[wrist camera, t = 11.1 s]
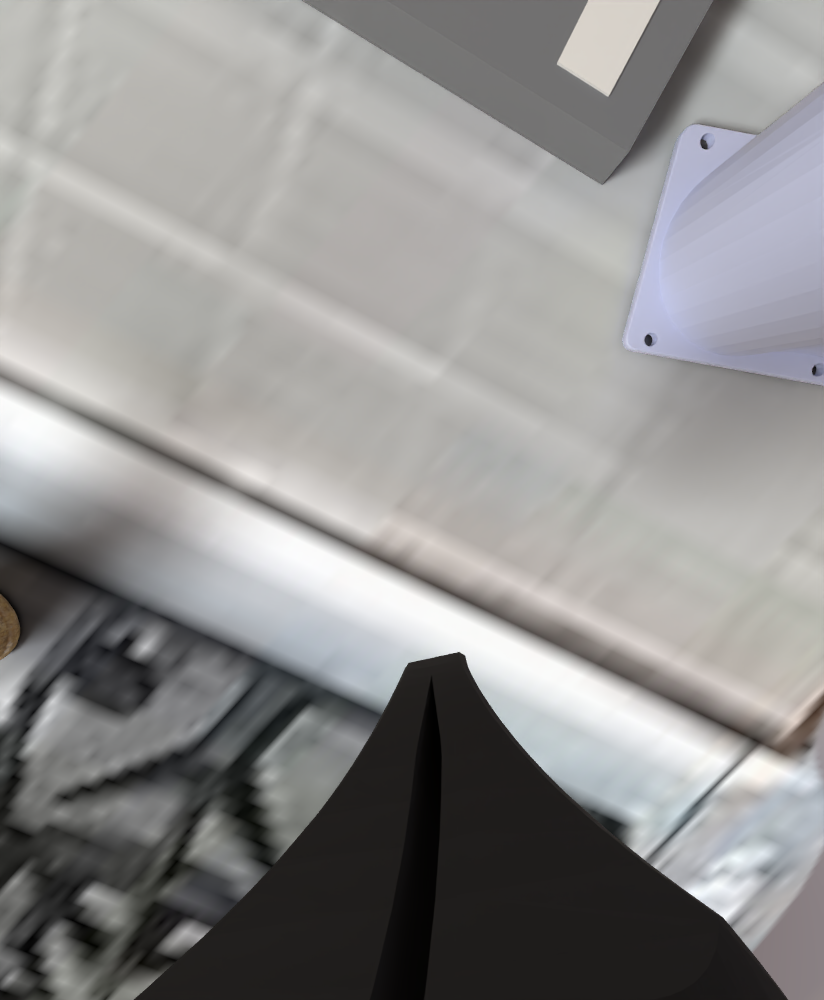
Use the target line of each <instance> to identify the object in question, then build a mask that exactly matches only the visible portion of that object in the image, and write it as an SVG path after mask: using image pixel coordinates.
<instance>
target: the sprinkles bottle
mask: <svg viewBox="0 0 824 1000" xmlns="http://www.w3.org/2000/svg"><path fill="white" fill-rule="evenodd" d="M19 635H20V625H19V621H18V618H17V615H16V613H15V611H14V609H13V608H12V606H11V605H10V604H9V603H8V601H7V600H6V599H5V598H4V597H3V596H2V595H1V594H0V660H1V659H3V658H4V657H6V656H7V655H8V654H9V653H10V652H11V651H12V650H13V649H14V648H15V646H16V645H17V643H18V638H19Z"/></svg>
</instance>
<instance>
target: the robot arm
mask: <svg viewBox="0 0 824 1000" xmlns="http://www.w3.org/2000/svg"><path fill="white" fill-rule="evenodd" d="M702 139H703V140H705V141H706V142H707V144H708V149H706V150H705V149H703V148H702V147H701V145H700V140H702ZM647 334H648V335H650V336H651V337H652V343H651V345H650V346H647V345H646V344H645V342H644V338H645V336H646V335H647ZM622 342H623V345H624V347H625V348H626V349H627V350H630V351H633V352H638V353H644V354H650V355H655V356H661V357H666V358H672V359H677V360H683V361H688V362H694V363H699V364H705V365H711V366H716V367H722V368H727V369H733V370H738V371H744V372H749V373H755V374H760V375H766V376H772V377H777V378H783V379H788V380H794V381H799V382H805V383H810V384H816V385H821V386H824V82H823V83H822V84H820V85H819V86H818V87H817V88H816V89H814V90H813V91H812V92H811V93H809V94H808V95H807V96H806V97H804V98H803V99H802V100H801V101H799V102H798V103H797V104H796V105H794V106H793V107H792V108H791V109H789V110H788V111H787V112H786V113H784V114H783V115H782V116H781V117H780V118H778V119H777V120H776V121H775V122H773V123H772V124H771V125H770V126H768V127H767V128H766V129H765V130H763V131H762V132H761V133H760V134H758V135H755V134H749V133H744V132H739V131H733V130H728V129H723V128H717V127H712V126H707V125H701V124H692V125H690V126H688V127H686V128H685V130H684V131H683V132H682V133H681V134H680V135H679V136H678V138H677V140H676V142H675V146H674V149H673V153H672V157H671V160H670V164H669V168H668V172H667V175H666V179H665V183H664V186H663V190H662V194H661V197H660V201H659V205H658V208H657V212H656V216H655V220H654V223H653V227H652V231H651V234H650V238H649V242H648V245H647V249H646V253H645V256H644V260H643V264H642V268H641V271H640V275H639V279H638V282H637V286H636V290H635V293H634V297H633V301H632V304H631V308H630V312H629V316H628V319H627V323H626V327H625V330H624V334H623V341H622ZM814 365H815V366H816V368H817V369H816V373H815V374H814V375H813V374H812V368H813V367H814ZM134 1000H788V999H787V998H786V996H785V995H784V993H783V992H782V991H781V990H780V988H779V987H778V985H777V984H776V983H775V982H774V980H773V979H772V978H771V976H770V975H769V974H768V972H767V971H766V970H765V969H764V967H763V966H762V965H761V964H760V962H759V961H758V960H757V958H756V957H755V956H754V955H753V953H752V952H751V951H750V950H749V949H748V947H747V946H746V945H745V944H744V942H743V941H742V940H741V939H740V937H739V936H738V935H737V934H736V933H735V931H734V930H733V929H732V928H731V927H730V925H729V924H728V923H727V922H726V921H725V919H724V918H723V917H721V916H720V915H719V914H717V913H716V912H715V911H713V910H712V909H710V908H709V907H707V906H706V905H705V904H703V903H702V902H700V901H699V900H698V899H696V898H695V897H693V896H692V895H691V894H689V893H688V892H686V891H685V890H684V889H682V888H681V887H679V886H678V885H677V884H675V883H674V882H673V881H671V880H670V879H669V878H667V877H666V876H665V875H663V874H662V873H661V872H659V871H658V870H657V869H655V868H654V867H653V866H651V865H650V864H649V863H647V862H646V861H645V860H644V859H642V858H641V857H640V856H639V855H637V854H636V853H635V852H634V851H632V850H631V849H630V848H629V847H627V846H626V845H625V844H624V843H622V842H621V841H620V840H619V839H617V838H616V837H615V836H614V835H613V834H611V833H610V832H609V831H608V830H607V829H606V828H605V827H603V826H602V825H601V824H600V823H599V822H598V821H597V820H596V819H594V818H593V817H592V816H591V815H590V814H589V813H588V812H587V811H585V810H584V809H583V808H582V807H581V806H580V805H579V804H578V803H576V802H575V801H574V800H573V799H572V798H571V797H570V796H569V795H567V794H566V793H565V792H564V791H563V790H562V789H561V788H560V787H559V786H558V785H557V784H556V783H555V782H554V781H553V780H552V779H551V778H550V777H549V776H548V775H547V774H546V773H545V772H544V771H543V770H542V768H541V767H540V766H539V765H538V764H537V763H536V762H535V761H534V760H533V759H532V758H531V757H530V756H529V754H528V753H527V752H526V751H525V750H524V749H523V748H522V746H521V745H520V744H519V743H518V742H517V740H516V739H515V738H514V737H513V735H512V734H511V733H510V732H509V730H508V729H507V728H506V727H505V725H504V724H503V723H502V721H501V720H500V719H499V717H498V716H497V715H496V713H495V712H494V710H493V709H492V707H491V706H490V705H489V703H488V702H487V700H486V699H485V697H484V696H483V694H482V692H481V691H480V689H479V688H478V686H477V684H476V682H475V680H474V678H473V677H472V675H471V673H470V670H469V668H468V665H467V661H466V658H465V655H463V654H461V653H460V652H457V653H453V654H448V655H444V656H439V657H434V658H430V659H425V660H420V661H416V662H411V663H408V665H407V666H406V668H405V670H404V672H403V674H402V676H401V678H400V680H399V683H398V685H397V687H396V689H395V691H394V693H393V695H392V697H391V699H390V701H389V703H388V705H387V707H386V708H385V710H384V712H383V714H382V716H381V718H380V719H379V721H378V723H377V725H376V727H375V729H374V730H373V732H372V734H371V736H370V737H369V739H368V741H367V742H366V744H365V745H364V747H363V749H362V750H361V752H360V754H359V755H358V757H357V758H356V760H355V762H354V763H353V765H352V767H351V768H350V770H349V771H348V773H347V774H346V776H345V777H344V778H343V780H342V781H341V783H340V784H339V786H338V787H337V789H336V790H335V791H334V793H333V794H332V795H331V797H330V798H329V800H328V801H327V802H326V804H325V805H324V806H323V808H322V809H321V810H320V811H319V813H318V814H317V815H316V817H315V818H314V819H313V820H312V821H311V822H310V824H309V825H308V826H307V827H306V828H305V829H304V831H303V832H302V833H301V834H300V835H299V837H298V838H297V839H296V840H295V841H294V842H293V844H292V845H291V846H290V847H289V848H288V849H287V851H286V852H285V853H284V854H283V855H282V857H281V858H280V859H279V860H278V861H277V862H276V863H275V865H274V866H273V867H272V868H271V869H270V870H269V871H268V872H267V873H266V874H265V875H264V876H263V877H262V878H261V880H260V881H259V882H258V883H257V884H256V885H255V886H254V887H253V888H252V889H251V890H250V891H249V892H248V893H247V894H246V895H245V896H244V897H243V898H242V899H241V900H240V901H239V902H238V903H237V904H236V905H235V906H234V907H233V908H232V909H231V910H230V911H229V912H228V913H227V914H226V915H225V916H224V917H223V918H222V919H221V920H220V921H219V922H218V923H217V924H216V925H215V926H214V927H213V928H212V929H211V930H210V931H209V932H208V933H207V934H206V935H205V936H204V937H203V938H202V939H200V940H199V941H198V942H197V943H196V944H195V945H194V946H193V947H192V948H191V949H189V950H188V951H187V952H186V953H185V954H184V955H183V956H182V957H181V958H180V959H178V960H177V961H176V962H175V963H174V964H173V965H172V966H171V967H170V968H169V969H167V970H166V971H165V972H164V973H163V974H162V975H161V976H160V977H159V978H158V979H156V980H155V981H154V982H153V983H152V984H151V985H150V986H149V987H148V988H147V989H145V990H144V991H143V992H142V993H141V994H140V995H139V996H137V997H136V998H135V999H134Z"/></svg>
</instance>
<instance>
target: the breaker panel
mask: <svg viewBox="0 0 824 1000" xmlns="http://www.w3.org/2000/svg"><path fill="white" fill-rule="evenodd" d="M302 1H304V2H305V3H307V4H309V5H310V6H312V7H314V8H315V9H317V10H318V11H320V12H322V13H323V14H325V15H327V16H328V17H330V18H332V19H333V20H335V21H336V22H338V23H340V24H341V25H343V26H345V27H346V28H348V29H349V30H351V31H353V32H354V33H356V34H358V35H359V36H361V37H362V38H364V39H366V40H367V41H369V42H371V43H372V44H374V45H375V46H377V47H379V48H380V49H382V50H384V51H385V52H387V53H388V54H390V55H392V56H393V57H395V58H397V59H398V60H400V61H401V62H403V63H405V64H406V65H408V66H410V67H411V68H413V69H415V70H416V71H418V72H419V73H421V74H423V75H424V76H426V77H428V78H429V79H431V80H432V81H434V82H436V83H437V84H439V85H441V86H442V87H444V88H445V89H447V90H449V91H450V92H452V93H454V94H455V95H457V96H458V97H460V98H462V99H463V100H465V101H467V102H468V103H470V104H471V105H473V106H475V107H476V108H478V109H480V110H481V111H483V112H484V113H486V114H488V115H489V116H491V117H493V118H494V119H496V120H498V121H499V122H501V123H502V124H504V125H506V126H507V127H509V128H511V129H512V130H514V131H515V132H517V133H519V134H520V135H522V136H524V137H525V138H527V139H528V140H530V141H532V142H533V143H535V144H537V145H538V146H540V147H541V148H543V149H545V150H546V151H548V152H550V153H551V154H553V155H554V156H556V157H558V158H559V159H561V160H563V161H564V162H566V163H567V164H569V165H571V166H572V167H574V168H576V169H577V170H579V171H580V172H582V173H584V174H585V175H587V176H589V177H590V178H592V179H594V180H595V181H597V182H598V183H600V184H603V183H604V182H605V181H606V180H607V178H608V177H609V176H610V175H611V173H612V172H613V171H614V170H615V169H616V167H617V166H618V165H619V164H620V162H621V161H622V160H623V159H624V157H625V156H626V155H627V154H628V153H629V151H630V149H631V147H632V146H633V144H634V142H635V140H636V138H637V137H638V135H639V133H640V131H641V129H642V128H643V126H644V124H645V122H646V120H647V119H648V117H649V115H650V113H651V112H652V110H653V108H654V106H655V104H656V103H657V101H658V99H659V97H660V95H661V94H662V92H663V90H664V88H665V86H666V85H667V83H668V81H669V79H670V77H671V76H672V74H673V72H674V70H675V68H676V67H677V65H678V63H679V61H680V59H681V58H682V56H683V54H684V52H685V50H686V49H687V47H688V45H689V43H690V41H691V40H692V38H693V36H694V34H695V32H696V31H697V29H698V27H699V25H700V23H701V22H702V20H703V18H704V16H705V15H706V13H707V11H708V9H709V7H710V6H711V4H712V2H713V0H302Z"/></svg>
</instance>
